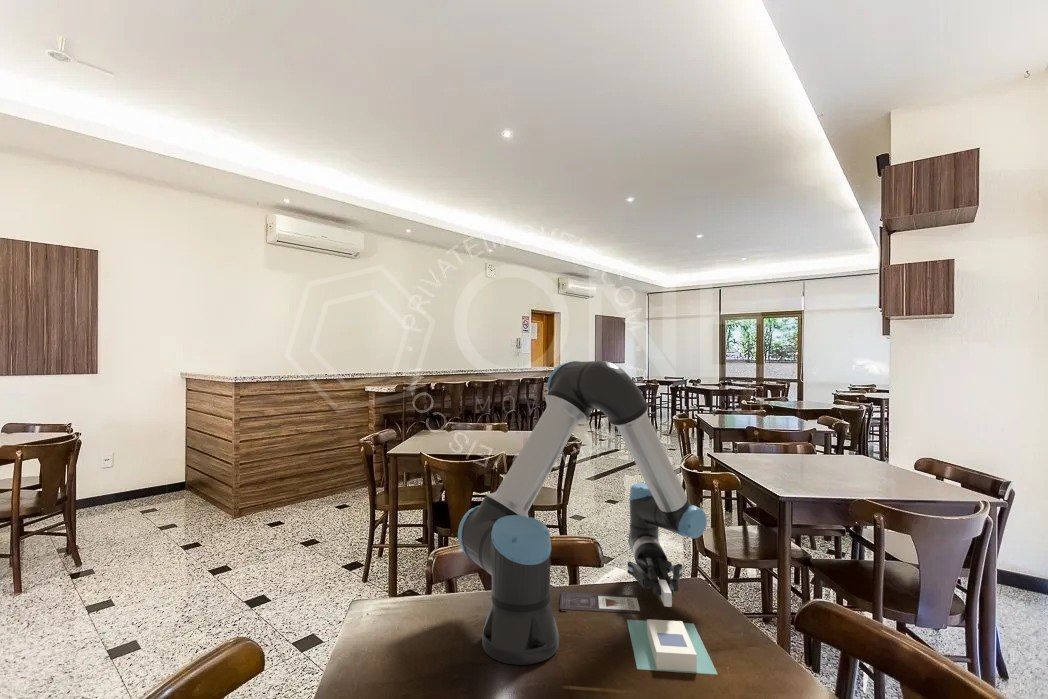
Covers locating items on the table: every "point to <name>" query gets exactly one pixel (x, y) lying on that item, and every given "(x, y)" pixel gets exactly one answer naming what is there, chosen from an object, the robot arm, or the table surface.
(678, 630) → the card box
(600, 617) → the table surface
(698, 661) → the mat
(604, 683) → the table surface
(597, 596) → the chocolate bar
